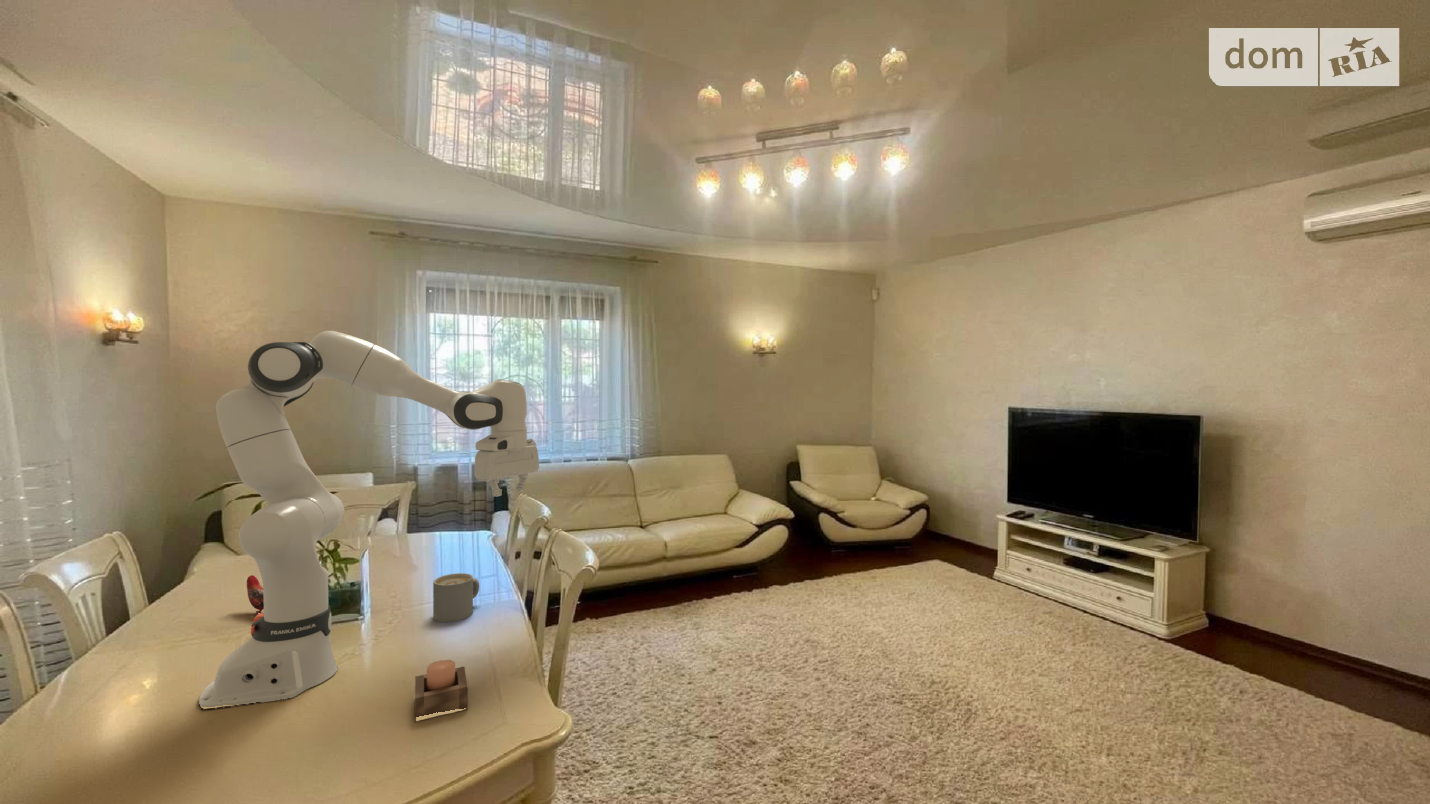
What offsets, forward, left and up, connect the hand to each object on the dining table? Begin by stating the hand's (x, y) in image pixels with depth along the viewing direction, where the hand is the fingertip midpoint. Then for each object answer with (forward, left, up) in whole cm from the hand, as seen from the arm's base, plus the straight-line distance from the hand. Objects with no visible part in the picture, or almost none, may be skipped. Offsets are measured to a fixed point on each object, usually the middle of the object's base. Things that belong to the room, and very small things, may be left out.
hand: (509, 493), depth 146 cm
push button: (-17, -33, -32) cm, 49 cm away
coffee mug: (-11, +15, -35) cm, 40 cm away
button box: (-17, -33, -35) cm, 51 cm away
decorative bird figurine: (-59, +37, -35) cm, 78 cm away
